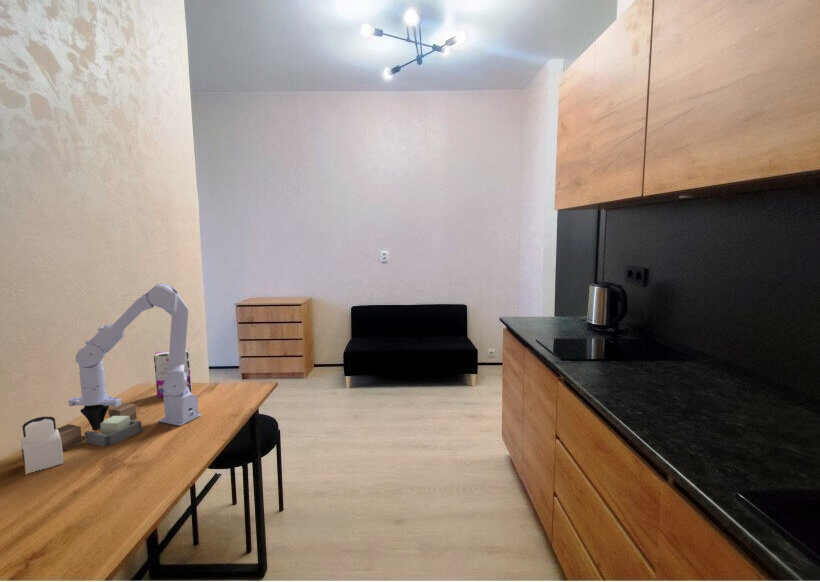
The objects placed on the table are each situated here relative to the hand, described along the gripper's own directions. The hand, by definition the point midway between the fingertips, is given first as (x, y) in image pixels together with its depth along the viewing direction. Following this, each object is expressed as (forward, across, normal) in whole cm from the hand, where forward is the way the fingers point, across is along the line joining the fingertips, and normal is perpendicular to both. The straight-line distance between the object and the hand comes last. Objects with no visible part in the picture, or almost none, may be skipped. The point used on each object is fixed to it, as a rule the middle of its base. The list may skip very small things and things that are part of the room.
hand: (97, 428), depth 116 cm
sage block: (+2, -7, +1) cm, 7 cm away
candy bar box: (+2, -3, -31) cm, 32 cm away
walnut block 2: (+2, -2, -8) cm, 8 cm away
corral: (+1, -7, +2) cm, 7 cm away
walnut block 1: (+2, +3, +8) cm, 8 cm away
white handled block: (+2, 0, +17) cm, 17 cm away
